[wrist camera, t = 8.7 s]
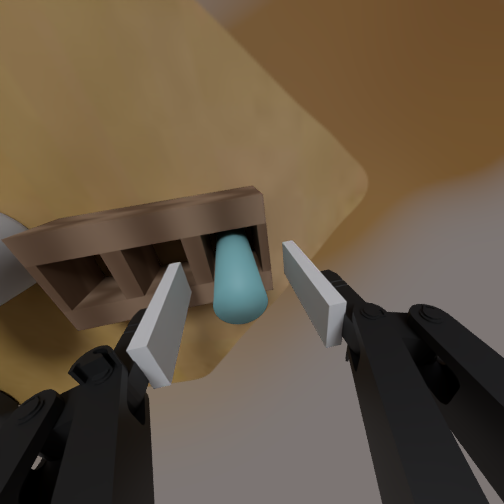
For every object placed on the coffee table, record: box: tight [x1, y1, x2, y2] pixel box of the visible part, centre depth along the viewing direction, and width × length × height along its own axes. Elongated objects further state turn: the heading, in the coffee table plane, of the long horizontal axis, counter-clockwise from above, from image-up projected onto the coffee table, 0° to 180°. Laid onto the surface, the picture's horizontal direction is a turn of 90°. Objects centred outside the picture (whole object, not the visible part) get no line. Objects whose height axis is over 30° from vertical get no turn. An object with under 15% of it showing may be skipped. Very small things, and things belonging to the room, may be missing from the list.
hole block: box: [1, 186, 273, 331], centre depth 17 cm, size 18×9×5 cm, turn 99°
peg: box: [213, 227, 268, 324], centre depth 15 cm, size 3×3×11 cm
